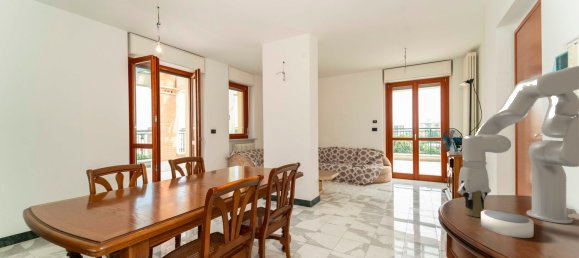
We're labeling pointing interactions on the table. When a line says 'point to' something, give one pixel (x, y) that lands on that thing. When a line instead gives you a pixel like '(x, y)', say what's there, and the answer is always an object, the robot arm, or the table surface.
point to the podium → (507, 223)
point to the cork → (475, 205)
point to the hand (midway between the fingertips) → (474, 207)
